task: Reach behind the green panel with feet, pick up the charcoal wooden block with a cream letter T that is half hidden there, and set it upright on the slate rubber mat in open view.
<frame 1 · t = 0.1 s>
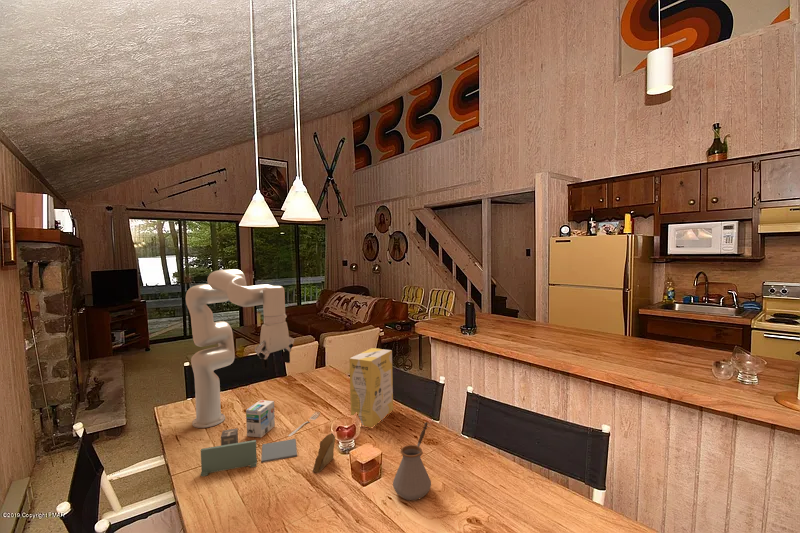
hand: (276, 365, 138), 31 cm above the table, tool pointing down, fingers open, 9 cm apart
coffee pot: (417, 483, 117), on the table
lettered block: (230, 454, 136), on the table
pasta box: (372, 418, 164), on the table
light bulb box: (261, 431, 154), on the table
mat: (279, 450, 138), on the table
rock: (322, 464, 129), on the table
fork: (301, 428, 157), on the table
green panel with feet: (229, 468, 127), on the table
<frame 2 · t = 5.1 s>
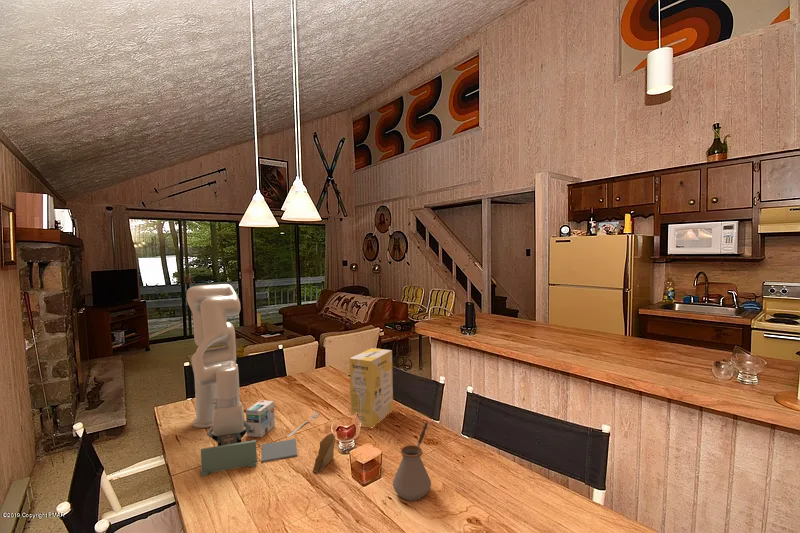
hand: (230, 449, 136), 1 cm above the table, tool pointing down, fingers closed on lettered block, 5 cm apart
lettered block: (230, 453, 136), on the table, touching gripper
everything else where it was.
when the fingers open (3 cm above the table, at t = 12.7 s): lettered block drops 1 cm, resting on mat.
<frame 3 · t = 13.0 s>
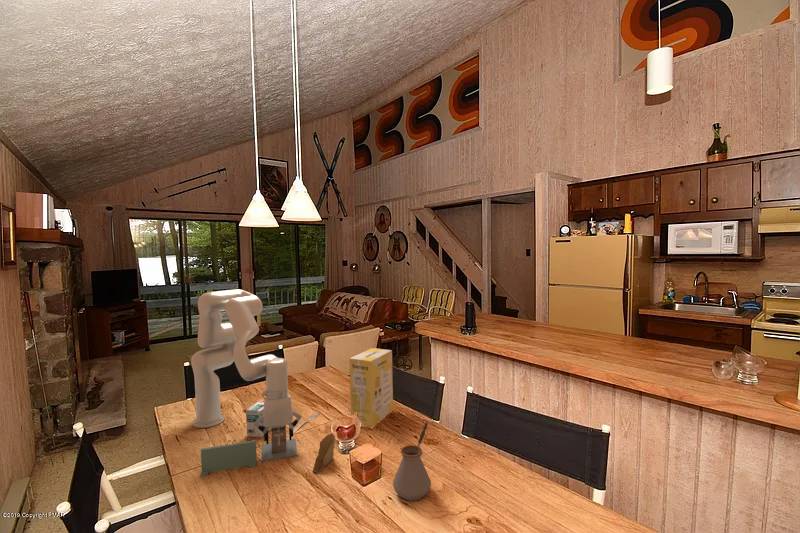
hand: (279, 440, 138), 4 cm above the table, tool pointing down, fingers open, 7 cm apart
lettered block: (279, 449, 138), point 1 cm above the table, touching mat
everything else where it was.
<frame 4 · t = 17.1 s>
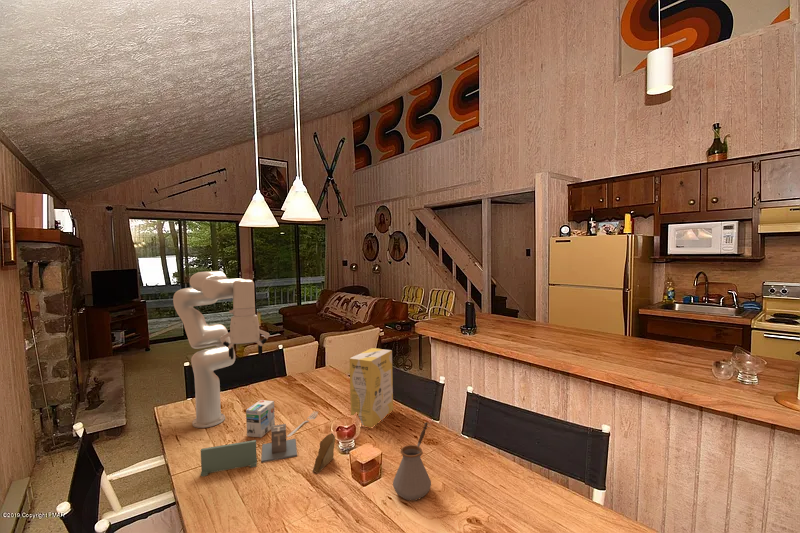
hand: (246, 357, 143), 33 cm above the table, tool pointing down, fingers open, 9 cm apart
nothing on the table moved.
at the end: lettered block inside the target area on the mat (0.0 cm from its centre), point 0.6 cm above the mat's base; lettered block tilted 0°; the gripper is holding nothing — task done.
